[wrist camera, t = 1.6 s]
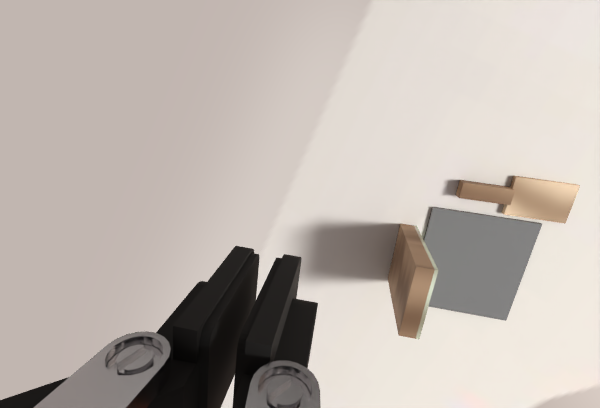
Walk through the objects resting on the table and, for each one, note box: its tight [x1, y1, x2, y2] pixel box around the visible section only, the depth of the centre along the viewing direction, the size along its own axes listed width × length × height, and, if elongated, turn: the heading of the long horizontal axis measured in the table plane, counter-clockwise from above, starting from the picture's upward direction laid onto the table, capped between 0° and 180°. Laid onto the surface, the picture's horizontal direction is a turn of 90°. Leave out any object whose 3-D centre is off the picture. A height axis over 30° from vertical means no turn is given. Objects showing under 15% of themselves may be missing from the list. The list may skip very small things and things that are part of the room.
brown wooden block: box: [388, 224, 438, 339], centre depth 34 cm, size 7×2×10 cm, turn 173°
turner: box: [456, 176, 580, 223], centre depth 34 cm, size 4×11×1 cm, turn 83°
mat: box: [424, 207, 542, 320], centre depth 37 cm, size 12×11×1 cm
